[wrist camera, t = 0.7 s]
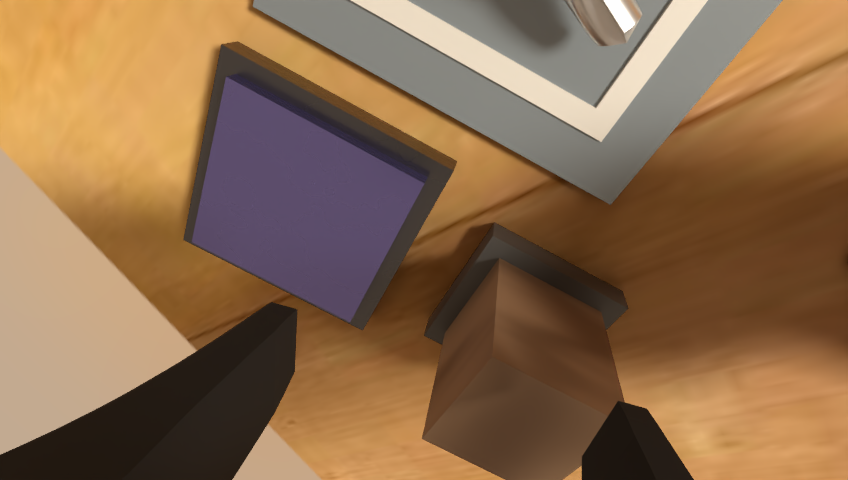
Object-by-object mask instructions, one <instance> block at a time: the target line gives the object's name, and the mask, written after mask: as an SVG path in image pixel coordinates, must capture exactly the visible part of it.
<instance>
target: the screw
mask: <svg viewBox="0 0 848 480" xmlns="http://www.w3.org/2000/svg"><path fill="white" fill-rule="evenodd" d="M564 1H565V2H566V4H567V5H568V7H569V8H570V10H571V11H572V13H573V14H574V16H575V17H576V19H577V20H578V22H579V23H580V25H581V26H582V28H583V29H584V31H585V32H586V33H587V35H588V36H589V37H590V38H591V40H592V41H593V42H594V43H595V44H596V45H597V46H611V45H618V44H624V43H627V42H628V40H629V38H630V36H631V34H632V33H633V31H634V29H635V27H636V25H637V23H638V22H639V20H640V18H641V16H642V12H641V10H640V8H639V6H638V4H637V2H636V0H564Z"/></svg>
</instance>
